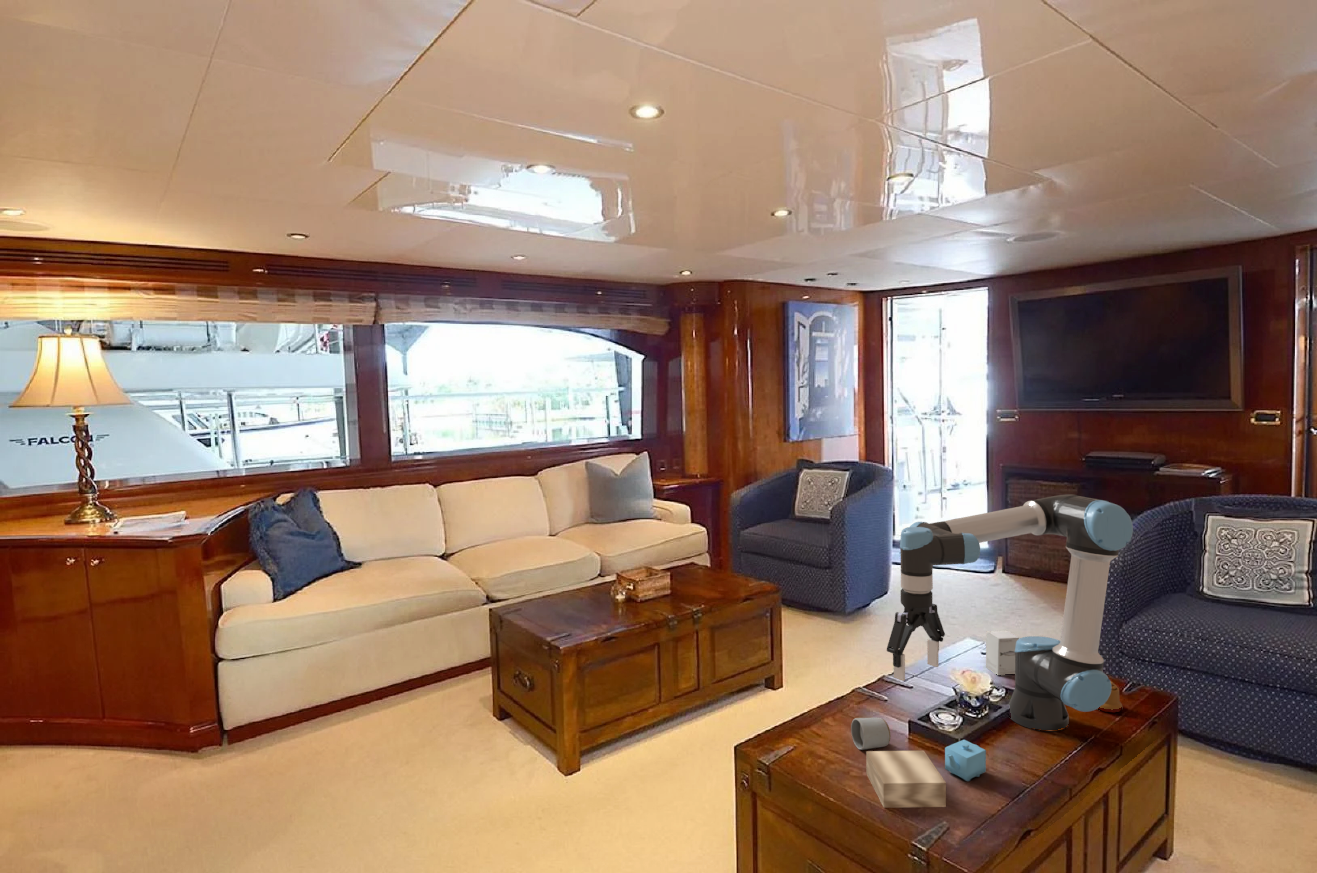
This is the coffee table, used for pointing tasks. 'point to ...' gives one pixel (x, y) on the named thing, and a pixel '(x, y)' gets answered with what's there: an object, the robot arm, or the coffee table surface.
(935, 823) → the coffee table surface
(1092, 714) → the coffee table surface
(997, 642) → the supplement box
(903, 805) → the maple block
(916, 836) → the coffee table surface
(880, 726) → the ceramic mug
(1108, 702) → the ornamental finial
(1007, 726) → the coffee table surface
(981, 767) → the blue notched cube block
